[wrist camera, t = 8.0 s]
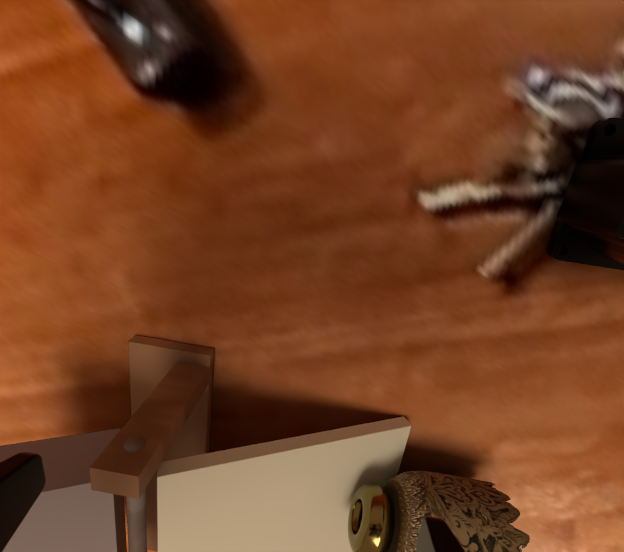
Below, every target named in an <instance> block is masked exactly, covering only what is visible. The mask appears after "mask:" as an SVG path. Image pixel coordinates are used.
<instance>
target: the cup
mask: <svg viewBox="0 0 624 552" xmlns="http://www.w3.org/2000/svg"><path fill="white" fill-rule="evenodd" d="M494 485H495V484H493V483H491V482H487V481H481V480H475V479H470V478H465V477H460V476H454V475H448V474H443V473H436V472H429V471H408V472H403V473H400V474H398V475H396V476H394V477H393V478H391V479H390V480H389V481H388V482H387V483H386V484H385V486H384V487H382V486H380V485H379V484H378V483H375V482H371V483H365V484H363V485H361V486H360V487H359V488H358V489H357V491H356V493H355V495H354V497H353V499H352V502H351V506H350V510H349V516H348V538H349V543H350V547H351V549H352V551H353V552H416V542H417V538H418V534H419V531H420V527H421V524H422V520H423V518H424V517H425V516H430V517H436V518H441V519H443V520H444V521H445V522H446V523H447V525H448V526H449V528H450V529H451V531H452V532H453V534H454V535H455V537H456V538H457V540H458V541H459V543H460V544H461V546H462V547H463V549H464V550H465V552H522V550H521V548H519V547H520V546H521V545H523V546H522V548H525V547H526V546H527V544H528V543H529V540H530V538H529V535H528V534H526V533H524V532H522V531H521V530H518V529H516V528H515V527H513V526H512V525H510V524H509V523H513V522H514V521H515V520H517V518H518V517H519V515H520V512H519V511H518V509H516V508H515V507H514V506H512V505H511V504H510V503H508V502H505V501H508V500H510V498H509V496H507V495H506V494H504V493H502V492H500V491H497V490H496V489H495V488H493V487H492V486H494Z"/></svg>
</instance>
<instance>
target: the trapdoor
mask: <svg viewBox="0 0 624 552" xmlns="http://www.w3.org/2000/svg"><path fill="white" fill-rule="evenodd" d="M410 429H411V424H410V423H409V422H408V421H407V420H406V419H405V417H404V416H403V417H398V418H393V419H387V420H382V421H377V422H371V423H366V424H361V425H355V426H350V427H345V428H339V429H334V430H329V431H323V432H318V433H313V434H307V435H302V436H297V437H291V438H286V439H281V440H275V441H270V442H265V443H259V444H254V445H249V446H243V447H238V448H233V449H227V450H222V451H217V452H211V453H206V454H201V455H195V456H190V457H185V458H179V459H174V460H169V461H163V462H161V464H160V465H159V467H158V469H157V519H158V552H353V551H352V549H351V547H350V543H349V538H348V516H349V510H350V506H351V502H352V499H353V497H354V495H355V493H356V491H357V489H358V488H359V487H360V486H361V485H363V484H365V483H371V482H375V483H378V484H379V485H380V486H382V487H384V486H385V484H386V483H387V482H388V481H389V480H390V479H391V478H393V477H394V476H396V475H397V474H398V470H399V467H400V464H401V460H402V457H403V453H404V450H405V447H406V443H407V440H408V436H409V433H410ZM119 431H120V428H118V429H112V430H105V431H98V432H91V433H84V434H78V435H71V436H64V437H57V438H50V439H44V440H37V441H30V442H23V443H16V444H10V445H3V446H0V462H2V461H4V460H6V459H8V458H10V457H12V456H14V455H16V454H18V453H21V452H29V453H36V454H39V455H40V456H41V457H42V461H43V466H44V471H45V476H46V483H45V486H44V489H43V490H42V492H41V494H40V495H39V497H38V498H37V500H36V501H35V503H34V504H33V506H32V507H31V509H30V511H29V512H28V514H27V515H26V517H25V518H24V520H23V521H22V523H21V524H20V526H19V527H18V529H17V530H16V532H15V533H14V535H13V536H12V538H11V539H10V541H9V542H8V544H7V546H6V547H5V549H4V550H3V552H127V548H126V529H125V510H124V496H121V495H116V494H110V493H105V492H100V491H95V490H91V480H90V469H89V467H90V466H91V465H92V464H93V462H94V461H95V460H96V459H97V458H98V456H99V455H100V454H101V453H102V452H103V450H104V449H105V448H106V447H107V446H108V444H109V443H110V442H111V441H112V440H113V438H114V437H115V436H116V435H117V434H118V432H119Z"/></svg>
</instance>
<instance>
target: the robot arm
mask: <svg viewBox="0 0 624 552" xmlns="http://www.w3.org/2000/svg"><path fill="white" fill-rule="evenodd" d="M607 125H608V126H609V128H610V130H609V133H608V134H607V135H606V136H605V135H604V133H603V132H604V128H605V127H606V126H607ZM557 216H558V222H557V224H556V227H555V230H554V232H553V235H552V238H551V240H550V243H549V246H548V250H547V251H548V254H549V255H550V256H551V257H553V258H555V259H557V260H562V261H568V262H574V263H581V264H587V265H594V266H600V267H607V268H613V269H619V270H624V119H620V118H607V119H602V120H600V121H598V122H597V123H596V124H595V125H594V127H593V129H592V131H591V133H590V136H589V139H588V142H587V144H586V147H585V150H584V152H583V155H582V158H581V160H580V162H579V163H578V164H577V165H576V166H575V169H574V172H573V175H572V177H571V180H570V183H569V185H568V188H567V191H566V193H565V196H564V199H563V201H562V204H561V207H560V209H559V212H558V215H557ZM560 246H564V248H563V251H562V252H560V253H557V250H558V248H559V247H560ZM45 483H46V476H45V471H44V466H43V461H42V457H41V456H40V455H39V454H36V453H29V452H21V453H18V454H16V455H14V456H12V457H10V458H8V459H6V460H4V461H2V462H0V552H3V550H4V549H5V547H6V546H7V544H8V542H9V541H10V539H11V538H12V536H13V535H14V533H15V532H16V530H17V529H18V527H19V526H20V524H21V523H22V521H23V520H24V518H25V517H26V515H27V514H28V512H29V511H30V509H31V507H32V506H33V504H34V503H35V501H36V500H37V498H38V497H39V495H40V494H41V492H42V490H43V489H44V486H45ZM416 552H465V550H464V549H463V547H462V546H461V544H460V543H459V541H458V540H457V538H456V537H455V535H454V534H453V532H452V531H451V529H450V528H449V526H448V525H447V523H446V522H445V521H444V520H443V519H441V518H436V517H430V516H425V517H424V518H423V520H422V524H421V527H420V531H419V534H418V538H417V542H416Z"/></svg>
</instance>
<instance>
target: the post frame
mask: <svg viewBox="0 0 624 552" xmlns="http://www.w3.org/2000/svg"><path fill="white" fill-rule="evenodd" d="M128 344H129V370H130V396H131V418H130V419H129V420H128V421H127V423H126V424H125V425H124V426H123V427H122V429H121V430H120V431H119V432H118V434H117V435H116V436H115V437H114V438H113V440H112V441H111V442H110V443H109V444H108V446H107V447H106V448H105V449H104V450H103V452H102V453H101V454H100V455H99V456H98V458H97V459H96V460H95V461H94V462H93V464H92V465H91V466H90V467H89V469H90V480H91V490H95V491H100V492H105V493H110V494H116V495H121V496H126V504H127V525H128V545H129V552H147V549H149V550H154V551H158V519H157V469H158V467H159V465H160V464H161V462H163V461H169V460H174V459H179V458H185V457H190V456H195V455H201V454H206V453H209V448H210V430H211V411H212V393H213V375H214V357H215V349H214V348H208V347H202V346H196V345H190V344H185V343H179V342H173V341H167V340H161V339H155V338H150V337H144V336H138V335H136V336H134V337H133V338H132V339H131V340H130V341H128Z"/></svg>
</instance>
